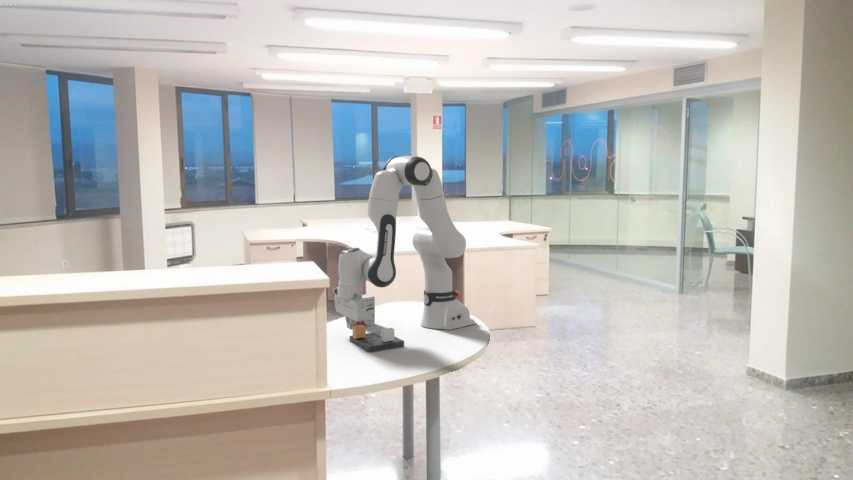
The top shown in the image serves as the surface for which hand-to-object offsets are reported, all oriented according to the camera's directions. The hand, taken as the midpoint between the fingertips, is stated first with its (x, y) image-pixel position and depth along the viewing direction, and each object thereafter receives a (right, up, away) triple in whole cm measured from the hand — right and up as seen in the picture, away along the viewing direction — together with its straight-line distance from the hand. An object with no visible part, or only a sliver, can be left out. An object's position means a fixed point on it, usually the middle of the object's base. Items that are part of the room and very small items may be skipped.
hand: (350, 328), depth 241 cm
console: (+10, -5, -6) cm, 13 cm away
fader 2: (+14, -3, -10) cm, 18 cm away
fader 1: (+4, -2, -5) cm, 7 cm away
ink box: (+3, -2, +22) cm, 22 cm away
